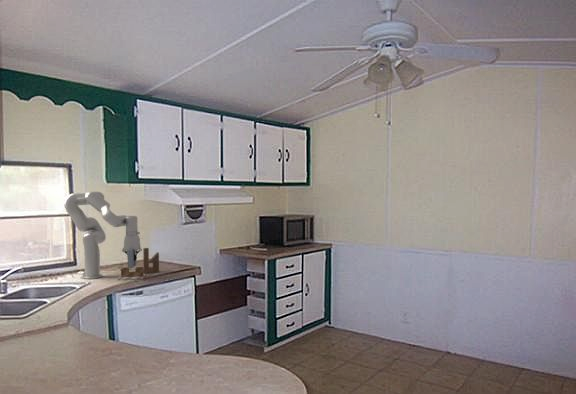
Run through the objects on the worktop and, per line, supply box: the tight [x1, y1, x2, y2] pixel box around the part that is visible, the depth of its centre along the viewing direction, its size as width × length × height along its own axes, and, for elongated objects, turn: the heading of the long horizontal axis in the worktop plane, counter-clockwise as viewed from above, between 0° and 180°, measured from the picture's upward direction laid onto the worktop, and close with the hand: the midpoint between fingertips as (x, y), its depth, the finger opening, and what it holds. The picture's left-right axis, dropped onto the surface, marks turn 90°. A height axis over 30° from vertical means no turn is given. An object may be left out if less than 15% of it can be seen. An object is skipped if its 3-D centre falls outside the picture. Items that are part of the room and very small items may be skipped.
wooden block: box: [142, 247, 160, 274], centre depth 301 cm, size 4×11×18 cm, turn 126°
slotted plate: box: [127, 249, 137, 269], centre depth 283 cm, size 3×11×12 cm, turn 7°
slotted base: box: [117, 266, 147, 281], centre depth 283 cm, size 16×11×7 cm
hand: (132, 260), depth 283 cm, fingers closed on slotted plate, 3 cm apart
